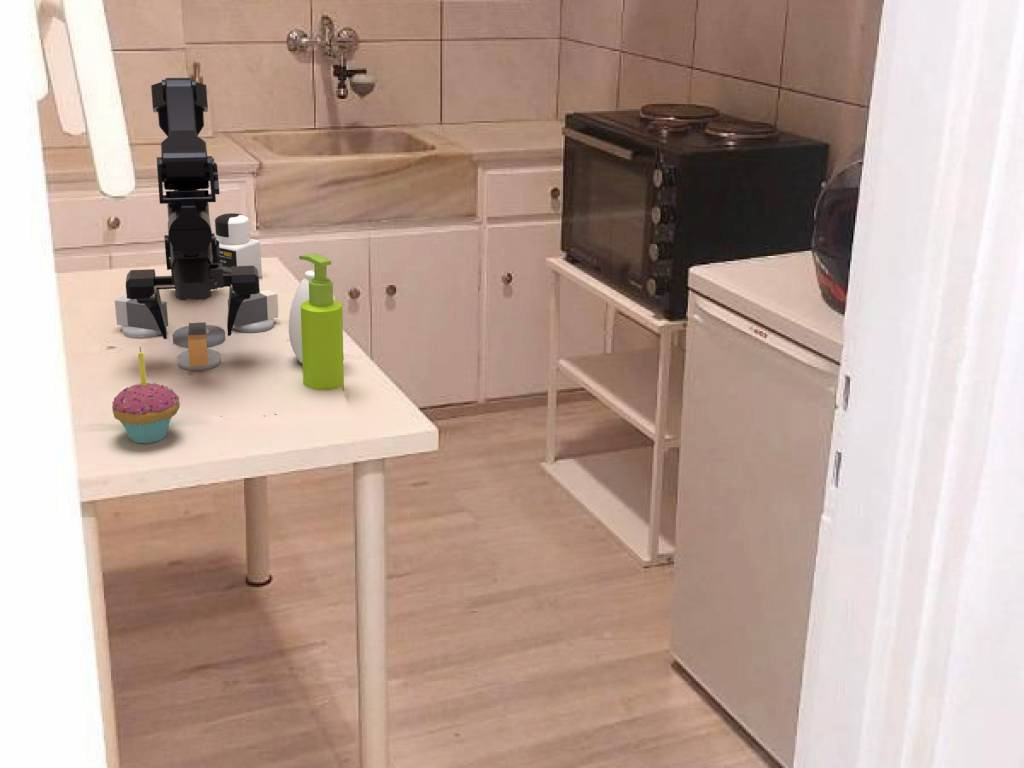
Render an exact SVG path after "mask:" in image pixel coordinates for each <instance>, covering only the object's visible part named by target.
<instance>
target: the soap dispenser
mask: <svg viewBox="0 0 1024 768" xmlns="http://www.w3.org/2000/svg"><path fill="white" fill-rule="evenodd" d="M298 258H299V260H305V261H306V262H307V261H308V262H310V263H311V264H312V263H314V276H315V278H313V279H311V280H310V281H309V300H307V301H305V302H303V303H302V304H301V334H302V362H303V363H302V383H303V385H304V387H306V388H308V389H312V390H318V391H324V390H325V391H328V390H334V389H337V388H340V387H341V389H342V391H343V392H344V391H345V374H344V372H345V370H344V369H345V367H344V365H345V364H344V332H343V331H344V327H343V325H344V324H343V323H344V322H343V303H342V302H341V301H339V300H333V294H334V281H333V280H332V279H331V278H329V277H328V276H327V275H328V274H327V272H328V271H327V266H331V265H332V260H331V259H330V258H328V257H325V256H323V255H321V254H318V253H308V254H303V255H298Z"/></svg>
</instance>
